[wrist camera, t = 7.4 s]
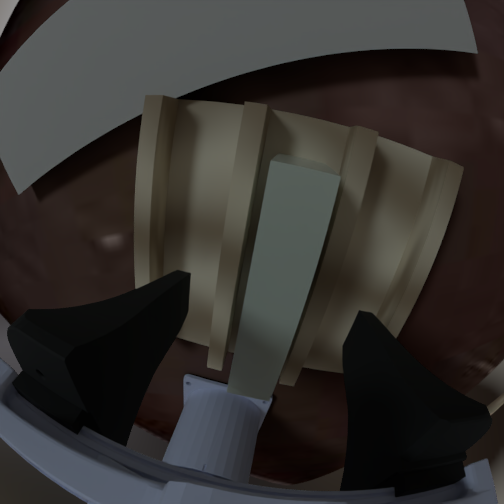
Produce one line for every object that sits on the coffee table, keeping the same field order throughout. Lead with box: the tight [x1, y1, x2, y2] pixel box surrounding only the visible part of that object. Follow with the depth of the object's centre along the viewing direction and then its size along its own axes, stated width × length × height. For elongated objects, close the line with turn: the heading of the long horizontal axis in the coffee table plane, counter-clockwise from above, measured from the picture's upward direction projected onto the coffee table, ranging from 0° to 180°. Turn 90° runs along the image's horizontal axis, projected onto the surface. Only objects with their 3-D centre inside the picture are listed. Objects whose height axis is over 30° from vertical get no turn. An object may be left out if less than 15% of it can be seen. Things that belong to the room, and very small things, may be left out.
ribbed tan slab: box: [134, 95, 464, 386], centre depth 15 cm, size 16×17×3 cm
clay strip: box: [227, 153, 341, 401], centre depth 13 cm, size 12×2×5 cm, turn 170°
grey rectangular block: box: [0, 0, 478, 194], centre depth 11 cm, size 34×5×10 cm
